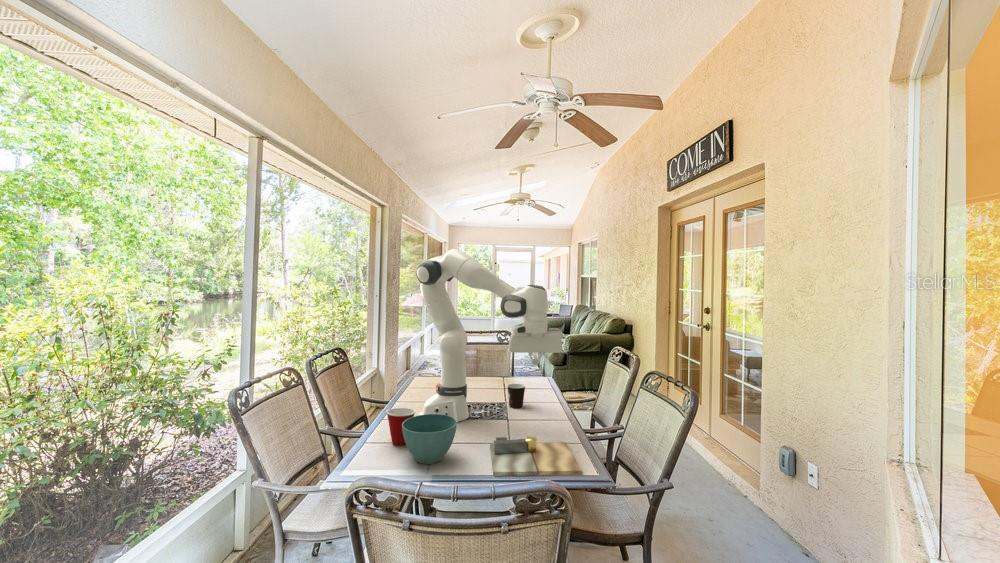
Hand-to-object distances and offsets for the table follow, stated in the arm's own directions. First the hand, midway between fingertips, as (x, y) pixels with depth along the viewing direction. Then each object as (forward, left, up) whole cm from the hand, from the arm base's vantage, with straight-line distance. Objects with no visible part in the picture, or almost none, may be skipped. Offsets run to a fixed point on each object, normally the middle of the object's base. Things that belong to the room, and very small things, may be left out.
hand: (535, 364), depth 152 cm
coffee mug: (-2, +43, -29) cm, 52 cm away
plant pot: (-38, -14, -29) cm, 50 cm away
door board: (-3, -16, -29) cm, 33 cm away
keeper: (-13, -9, -28) cm, 32 cm away
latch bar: (-9, -13, -28) cm, 32 cm away
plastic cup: (-50, 0, -29) cm, 58 cm away
